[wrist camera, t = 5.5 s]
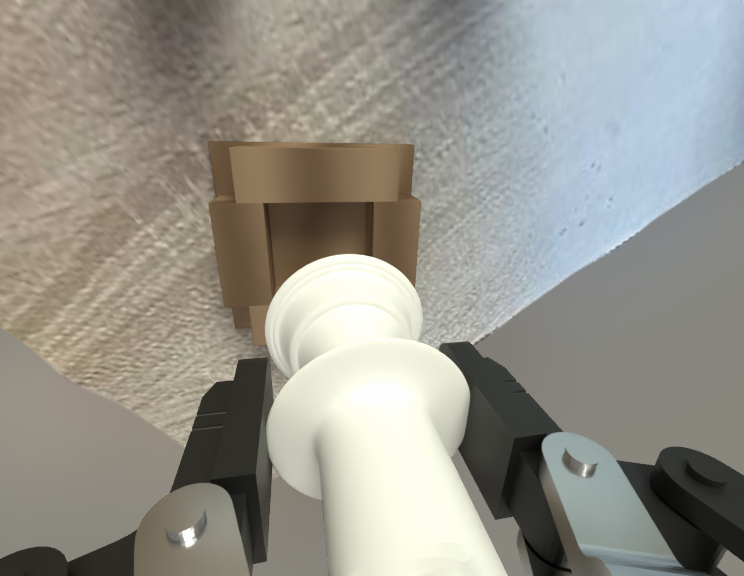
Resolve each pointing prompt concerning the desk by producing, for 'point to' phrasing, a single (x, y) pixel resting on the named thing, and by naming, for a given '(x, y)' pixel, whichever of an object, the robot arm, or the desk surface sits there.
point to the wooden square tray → (306, 214)
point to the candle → (372, 423)
